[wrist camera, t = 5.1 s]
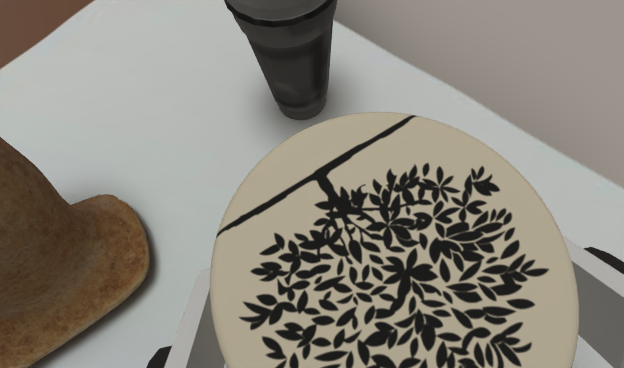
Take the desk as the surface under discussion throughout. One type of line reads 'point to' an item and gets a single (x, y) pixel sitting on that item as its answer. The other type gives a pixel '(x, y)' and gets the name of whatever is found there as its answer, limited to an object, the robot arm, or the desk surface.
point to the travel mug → (391, 255)
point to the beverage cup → (290, 49)
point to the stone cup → (59, 261)
